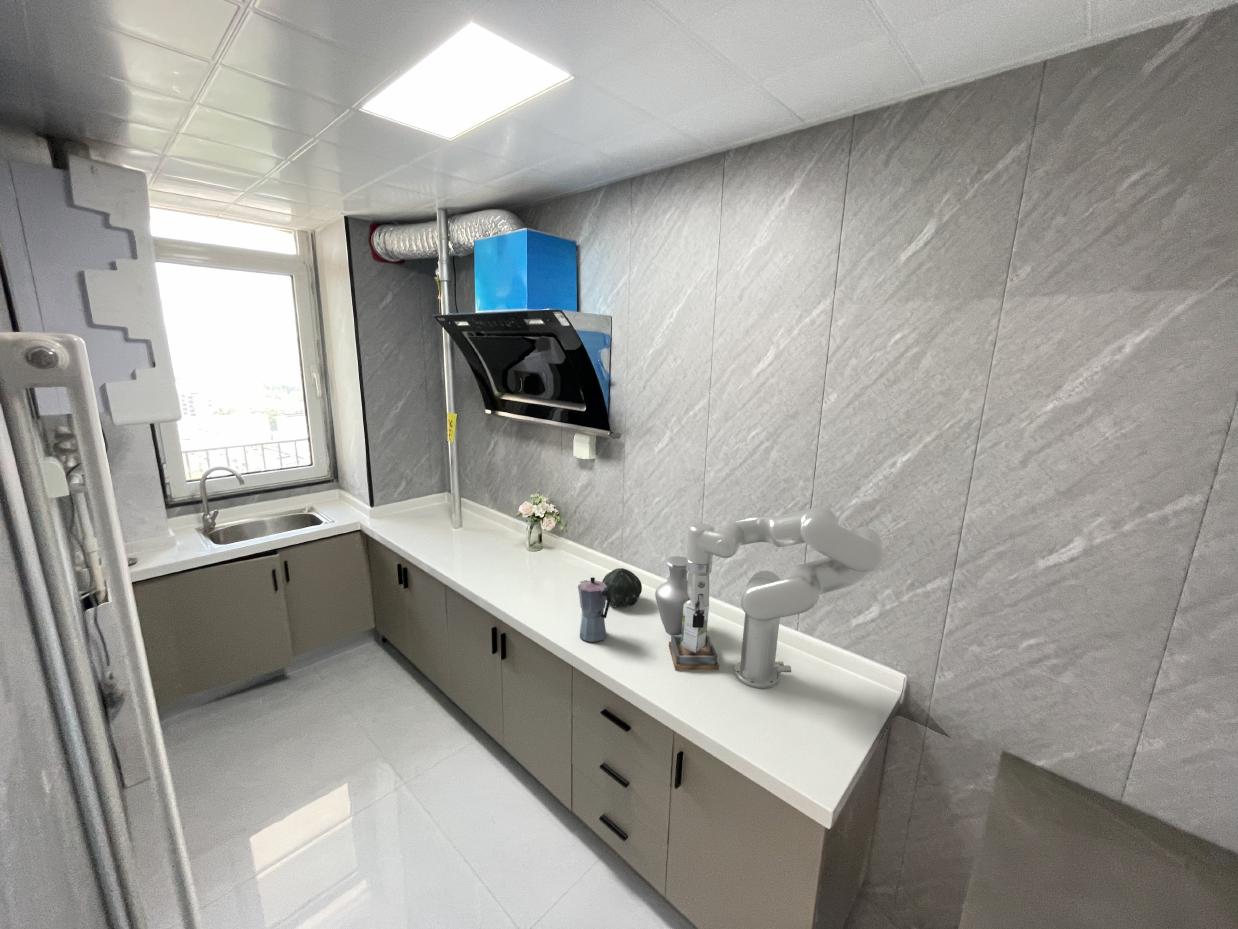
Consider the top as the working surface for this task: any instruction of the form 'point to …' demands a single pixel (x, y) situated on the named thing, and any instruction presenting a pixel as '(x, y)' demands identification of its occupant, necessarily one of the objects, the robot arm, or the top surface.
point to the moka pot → (593, 609)
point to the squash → (622, 587)
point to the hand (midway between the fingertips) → (695, 619)
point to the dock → (693, 656)
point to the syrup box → (693, 629)
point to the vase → (673, 595)
